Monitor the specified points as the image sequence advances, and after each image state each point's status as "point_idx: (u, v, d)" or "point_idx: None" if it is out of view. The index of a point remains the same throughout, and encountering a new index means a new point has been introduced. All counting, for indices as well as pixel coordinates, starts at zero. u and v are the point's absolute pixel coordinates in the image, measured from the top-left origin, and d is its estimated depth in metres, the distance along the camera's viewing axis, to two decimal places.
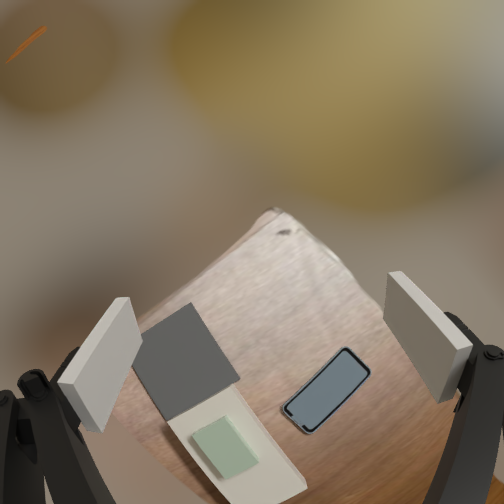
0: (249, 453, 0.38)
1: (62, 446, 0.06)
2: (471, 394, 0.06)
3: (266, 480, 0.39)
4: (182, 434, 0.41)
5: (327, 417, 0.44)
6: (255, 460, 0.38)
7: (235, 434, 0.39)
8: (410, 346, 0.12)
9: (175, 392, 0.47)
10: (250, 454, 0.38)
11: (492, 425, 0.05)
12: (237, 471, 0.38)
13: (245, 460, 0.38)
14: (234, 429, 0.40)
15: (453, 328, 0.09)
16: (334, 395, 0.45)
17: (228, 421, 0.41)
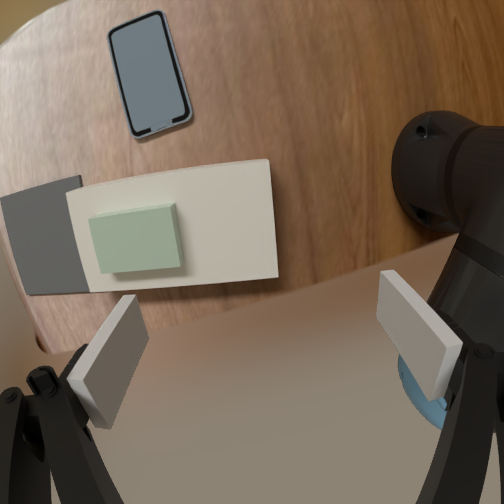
0: (149, 211, 0.28)
1: (70, 443, 0.06)
2: (462, 393, 0.07)
3: (219, 210, 0.30)
4: (108, 282, 0.33)
5: (180, 84, 0.29)
6: (164, 209, 0.28)
7: (114, 216, 0.28)
8: (402, 344, 0.12)
9: (74, 261, 0.35)
10: (151, 211, 0.28)
11: (484, 423, 0.05)
12: (172, 243, 0.29)
13: (158, 223, 0.28)
14: (111, 214, 0.29)
15: (443, 326, 0.10)
16: (156, 63, 0.28)
17: (97, 216, 0.29)
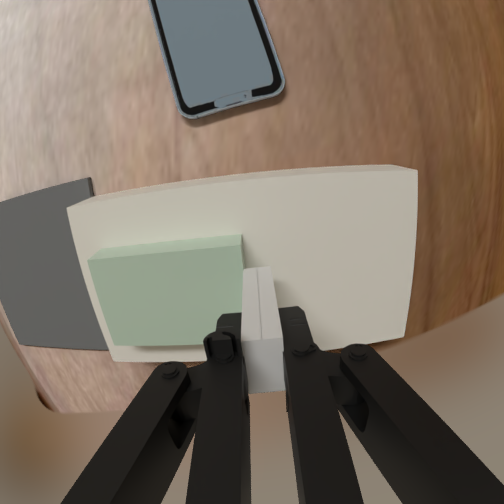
0: (199, 253, 0.16)
1: (229, 419, 0.07)
2: (291, 398, 0.08)
3: (340, 245, 0.18)
4: (143, 350, 0.21)
5: (265, 37, 0.17)
6: (229, 249, 0.16)
7: (133, 258, 0.16)
8: None
9: (83, 308, 0.24)
10: (204, 252, 0.16)
11: (328, 421, 0.07)
12: (241, 306, 0.17)
13: (217, 273, 0.16)
14: (127, 252, 0.17)
15: (274, 320, 0.12)
16: (224, 5, 0.16)
17: (104, 255, 0.17)
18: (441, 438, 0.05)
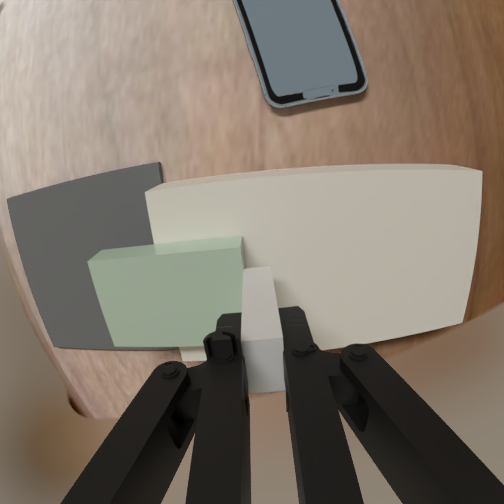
0: (199, 255, 0.16)
1: (229, 419, 0.07)
2: (291, 398, 0.08)
3: (422, 237, 0.18)
4: None
5: (349, 37, 0.17)
6: (228, 251, 0.16)
7: (133, 259, 0.16)
8: None
9: None
10: (203, 254, 0.16)
11: (328, 421, 0.07)
12: (241, 308, 0.17)
13: (216, 275, 0.16)
14: (127, 253, 0.17)
15: (275, 320, 0.12)
16: (307, 0, 0.16)
17: (104, 256, 0.17)
18: (441, 438, 0.05)
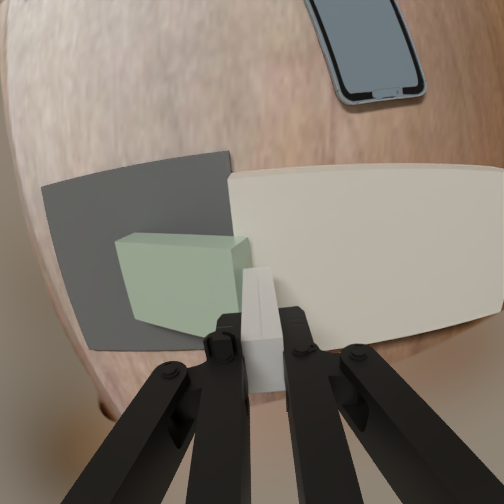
0: (196, 251, 0.17)
1: (229, 419, 0.07)
2: (291, 398, 0.08)
3: (475, 231, 0.18)
4: None
5: (409, 43, 0.16)
6: (221, 251, 0.16)
7: (146, 246, 0.18)
8: None
9: None
10: (199, 250, 0.16)
11: (329, 421, 0.07)
12: (233, 310, 0.17)
13: (211, 272, 0.17)
14: (146, 239, 0.19)
15: (275, 320, 0.12)
16: (372, 4, 0.15)
17: (129, 239, 0.20)
18: (441, 438, 0.05)
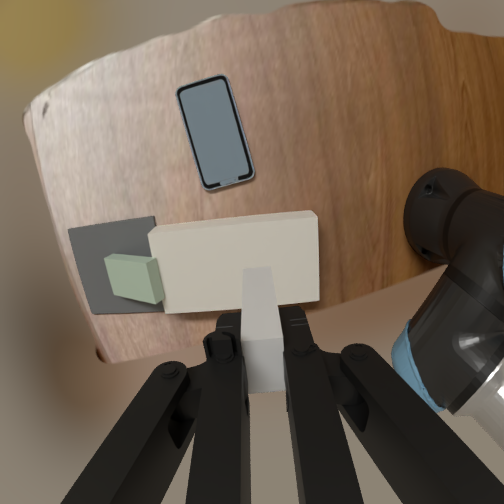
0: (135, 263, 0.39)
1: (229, 419, 0.07)
2: (291, 398, 0.08)
3: (278, 253, 0.40)
4: (183, 306, 0.43)
5: (245, 147, 0.39)
6: (143, 264, 0.39)
7: (117, 260, 0.41)
8: None
9: None
10: (136, 263, 0.39)
11: (329, 421, 0.07)
12: (150, 287, 0.40)
13: (141, 272, 0.39)
14: (117, 257, 0.42)
15: (275, 320, 0.12)
16: (223, 126, 0.38)
17: (110, 257, 0.42)
18: (441, 438, 0.05)
